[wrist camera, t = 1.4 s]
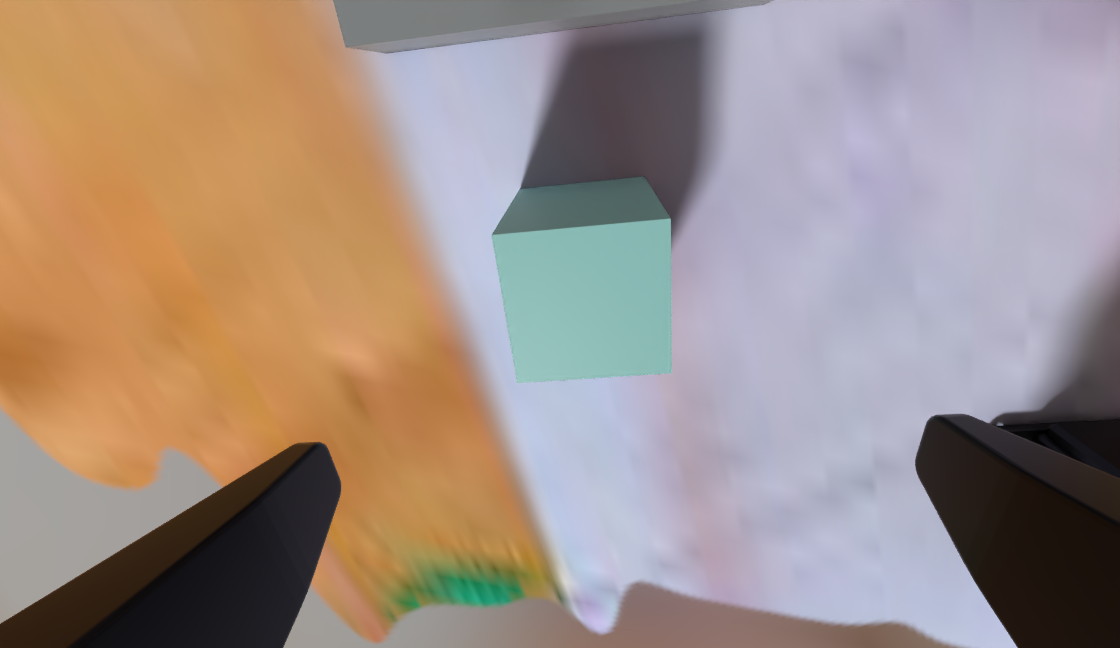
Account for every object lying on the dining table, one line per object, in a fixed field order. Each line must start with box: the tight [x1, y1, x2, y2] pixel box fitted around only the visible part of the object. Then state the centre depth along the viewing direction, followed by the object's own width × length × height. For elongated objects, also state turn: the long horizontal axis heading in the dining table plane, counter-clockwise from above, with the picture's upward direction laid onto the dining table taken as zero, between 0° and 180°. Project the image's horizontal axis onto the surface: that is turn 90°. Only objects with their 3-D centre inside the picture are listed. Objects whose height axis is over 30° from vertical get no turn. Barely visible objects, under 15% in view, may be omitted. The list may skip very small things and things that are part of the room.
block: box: [492, 176, 672, 383], centre depth 16 cm, size 4×4×6 cm
